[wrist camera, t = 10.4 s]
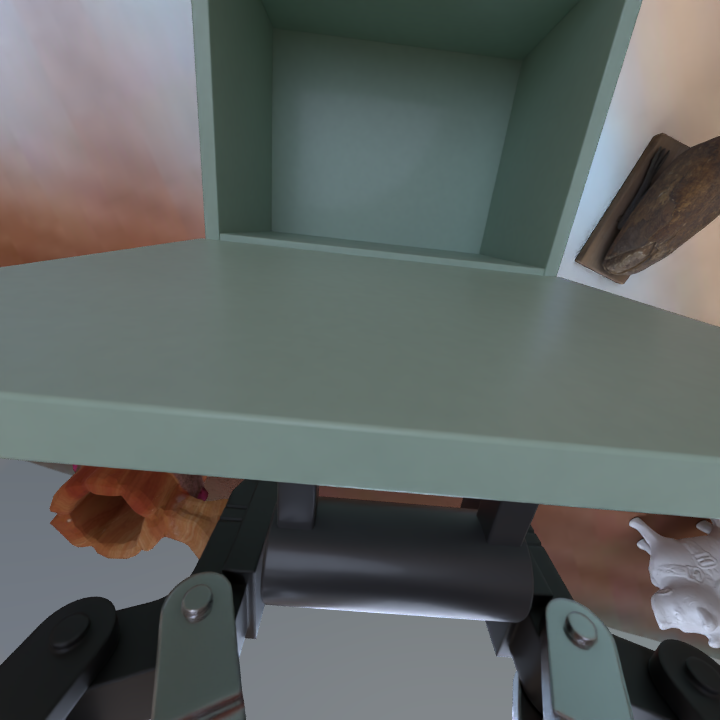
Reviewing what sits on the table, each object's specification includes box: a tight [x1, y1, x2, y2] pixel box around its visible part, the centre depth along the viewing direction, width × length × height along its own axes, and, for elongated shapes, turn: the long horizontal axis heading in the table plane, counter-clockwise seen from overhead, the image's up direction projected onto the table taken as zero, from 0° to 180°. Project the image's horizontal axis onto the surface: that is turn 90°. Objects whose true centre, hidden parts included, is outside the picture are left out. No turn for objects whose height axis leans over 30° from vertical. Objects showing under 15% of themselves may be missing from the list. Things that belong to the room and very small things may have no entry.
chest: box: [191, 0, 642, 277], centre depth 20 cm, size 14×18×11 cm
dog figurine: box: [629, 518, 720, 648], centre depth 34 cm, size 5×13×11 cm, turn 119°
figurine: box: [575, 133, 720, 284], centre depth 22 cm, size 14×4×9 cm, turn 157°
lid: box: [0, 238, 720, 623], centre depth 11 cm, size 15×18×6 cm
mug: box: [50, 465, 228, 559], centre depth 26 cm, size 15×8×15 cm, turn 71°
